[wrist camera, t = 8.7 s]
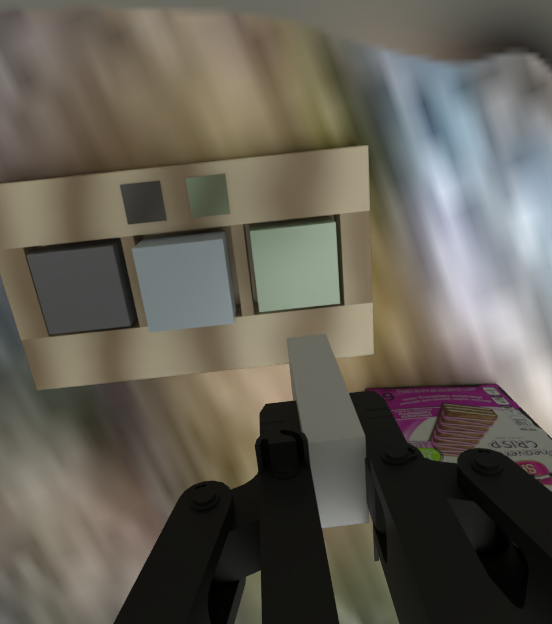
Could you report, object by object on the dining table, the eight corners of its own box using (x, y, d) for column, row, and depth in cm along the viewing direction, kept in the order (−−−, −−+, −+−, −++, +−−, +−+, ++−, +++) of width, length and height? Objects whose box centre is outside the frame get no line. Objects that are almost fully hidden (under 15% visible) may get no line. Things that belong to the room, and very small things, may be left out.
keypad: (54, 370, 35) (35, 391, 32) (-2, 183, 31) (-30, 187, 28) (364, 337, 35) (374, 355, 32) (357, 145, 31) (368, 145, 28)
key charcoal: (65, 319, 33) (49, 334, 30) (45, 245, 31) (26, 255, 29) (140, 311, 33) (130, 325, 31) (124, 237, 31) (112, 245, 29)
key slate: (158, 316, 32) (149, 332, 29) (142, 239, 30) (131, 248, 27) (236, 308, 32) (234, 323, 29) (225, 230, 30) (222, 238, 27)
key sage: (259, 298, 33) (259, 312, 31) (250, 224, 31) (249, 231, 29) (333, 290, 33) (340, 303, 31) (329, 215, 31) (335, 222, 29)
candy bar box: (498, 379, 37) (669, 544, 22) (489, 431, 39) (642, 619, 24) (361, 384, 37) (436, 555, 21) (358, 436, 39) (426, 631, 23)
